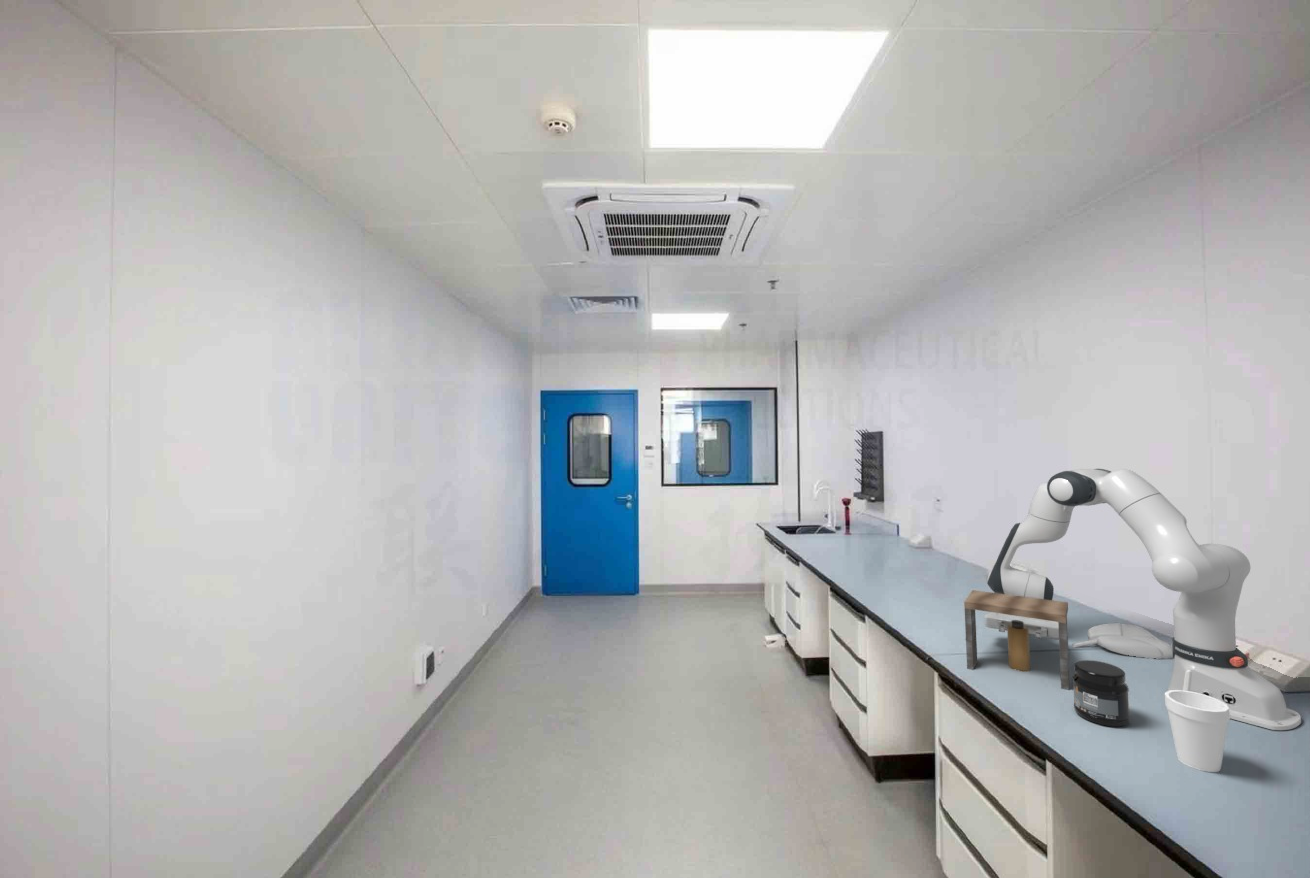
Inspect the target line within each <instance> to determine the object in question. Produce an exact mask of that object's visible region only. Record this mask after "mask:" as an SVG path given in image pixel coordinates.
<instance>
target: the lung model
mask: <svg viewBox="0 0 1310 878" xmlns="http://www.w3.org/2000/svg"><path fill="white" fill-rule="evenodd" d="M1087 638H1088V640H1084V641H1079V642H1074V643H1072V644H1071V647H1074V646H1075V647H1077V648H1081V647H1085V646H1091V645H1092V646H1093V645H1098V646H1100V647H1102V648H1105V650H1108V651H1111V652H1113V653H1117V654H1121V655H1124V656H1125V655H1126V656H1128V655H1129V657H1133V656H1136V657H1135V658H1138V657H1147V658H1146V659H1149V658H1156V659H1155V660H1169V658H1171V659H1174V658H1173V653H1172V645H1171V644H1169V643H1168V642H1166V641H1165V640H1163V639H1160V638H1158V637H1156V636H1155V635H1153V634H1152V633H1151V632H1150V631H1149V630H1148V629H1146V628H1143V627H1141V626H1138V625H1135V624H1127V623H1125V624H1122V623H1120V622H1111V623H1109V622H1108V623H1102V624H1099V625H1095V626H1094V625H1093V626H1092V627H1090V628H1089V629H1088V630H1087ZM1075 647H1074V648H1075ZM1162 658H1163V659H1162Z"/></svg>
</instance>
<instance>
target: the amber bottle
mask: <svg viewBox="0 0 1310 878" xmlns="http://www.w3.org/2000/svg"><path fill="white" fill-rule="evenodd" d="M1006 634H1007V650H1008V653H1007V654H1008V655H1007V656H1008V667H1009V666H1010V667H1011V668H1010V667H1009V668H1010V669H1012V670H1014V669H1016V670H1015V671H1018V670H1019V672H1028V670H1029V671H1030V670H1031V663H1030V662H1031V660H1030V657H1031V656H1030V639H1029V638H1030V636H1029V632H1028V627H1026V626H1024V622H1022V621H1019V620H1012V621H1011V624H1009V625H1007V633H1006Z"/></svg>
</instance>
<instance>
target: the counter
mask: <svg viewBox="0 0 1310 878" xmlns="http://www.w3.org/2000/svg"><path fill="white" fill-rule="evenodd" d="M963 603H964V627H965V647H966V649H965V650H966V651H965V652H966V669H968V668H969V670H975V667H976V666H977V663H978V645H977V642H978V641H977V624H976V623H977V622H976V621H977V620H976V619H977V617H976V611H981V612H988V613H989V612H994V613H1001V614H1008V615H1014V616H1021V617H1028V618H1035V619H1041V620H1048V621H1055V622H1058V625H1059V639H1058V645H1059V666H1060V668H1059V669H1060V688H1061V689H1063V690H1067V691H1069V690H1070V681H1071V678H1070V658H1069V657H1070V656H1069V655H1070V654H1069V635H1068V634H1069V631H1068V630H1069V629H1068V612H1069V611H1068V610H1069V603H1068V601H1061V600H1054V599H1052V600H1046V599H1038V598H1030V597H1023V596H1015V595H1007V594H999V593H994V592H989V591H982V590H975V589H973V590H972V591H971V592H970V593H969V594H968V596H967V597H966V598H965V600H963Z"/></svg>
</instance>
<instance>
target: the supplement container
mask: <svg viewBox="0 0 1310 878" xmlns="http://www.w3.org/2000/svg"><path fill="white" fill-rule="evenodd" d="M1074 672H1075V673H1074V674H1073V675H1072V682H1073V703H1074V704H1073V708H1074V710H1075V712H1076V714H1077V715H1079V716H1080V717H1081V718H1082V719H1085V720H1087V721H1088V722H1091V723H1095V724H1097V725H1101V726H1107V727H1123V726H1126V725H1127V724H1129V723H1130V720H1131V719H1130V706H1129V702H1130V701H1129V691H1130V689H1129V686H1128V684H1127V683H1126V672H1125V671H1124V670H1123V669H1121V668H1120V667H1119V666H1116V665H1114V664H1111V663H1107V662H1102V661H1098V660H1090V659H1089V660H1088V659H1087V660H1086V659H1085V660H1077V661H1076V662H1074Z"/></svg>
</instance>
